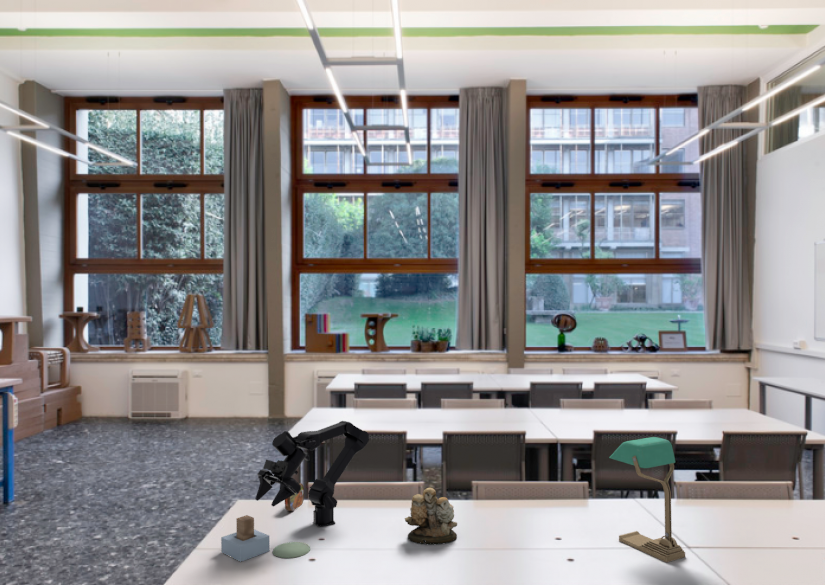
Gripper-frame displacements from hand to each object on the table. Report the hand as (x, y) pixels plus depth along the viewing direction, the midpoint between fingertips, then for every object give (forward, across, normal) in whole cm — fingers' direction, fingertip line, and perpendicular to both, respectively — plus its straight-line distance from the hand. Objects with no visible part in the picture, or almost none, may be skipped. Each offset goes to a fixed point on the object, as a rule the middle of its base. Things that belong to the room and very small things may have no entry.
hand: (264, 502), depth 207 cm
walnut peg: (+14, 0, +3) cm, 14 cm away
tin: (-11, -22, +31) cm, 40 cm away
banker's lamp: (-48, +99, +66) cm, 128 cm away
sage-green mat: (+8, +11, +12) cm, 18 cm away
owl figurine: (-20, +39, +38) cm, 58 cm away
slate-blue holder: (+15, 0, +5) cm, 16 cm away
